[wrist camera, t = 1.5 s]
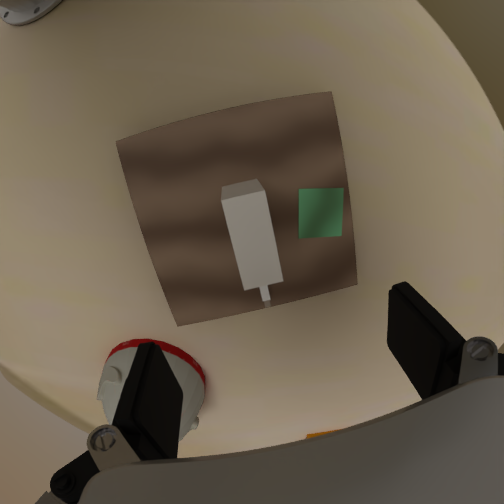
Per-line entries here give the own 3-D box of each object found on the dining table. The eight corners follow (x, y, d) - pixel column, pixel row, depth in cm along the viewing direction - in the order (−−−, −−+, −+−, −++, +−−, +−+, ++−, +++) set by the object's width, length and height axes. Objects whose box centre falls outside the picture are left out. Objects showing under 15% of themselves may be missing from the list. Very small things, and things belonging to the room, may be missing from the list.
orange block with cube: (300, 453, 48) (304, 471, 44) (306, 432, 45) (311, 451, 42) (339, 447, 49) (345, 463, 45) (349, 425, 46) (356, 443, 42)
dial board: (122, 140, 26) (115, 141, 24) (324, 93, 26) (331, 91, 24) (179, 316, 34) (177, 326, 32) (350, 276, 34) (357, 284, 32)
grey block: (222, 184, 26) (220, 200, 20) (255, 176, 26) (264, 190, 20) (251, 300, 31) (257, 340, 25) (280, 293, 31) (292, 332, 25)
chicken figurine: (91, 373, 37) (58, 455, 23) (139, 319, 34) (103, 418, 20) (168, 419, 41) (158, 501, 27) (226, 378, 38) (230, 475, 24)
